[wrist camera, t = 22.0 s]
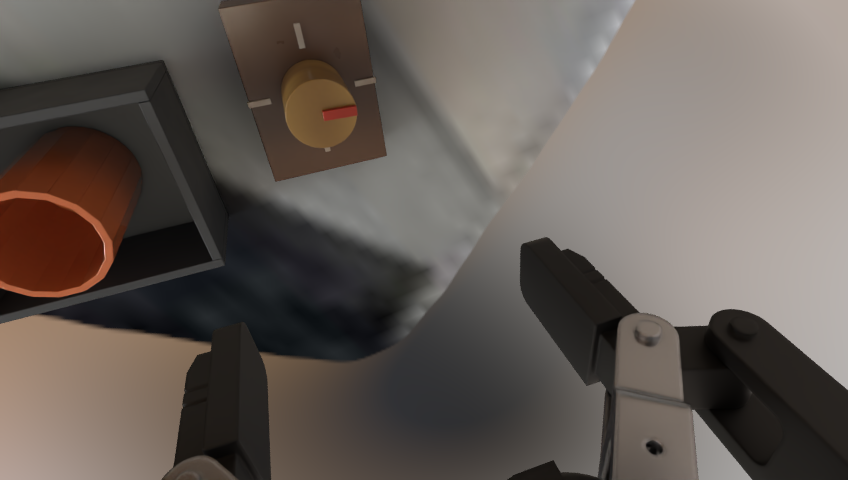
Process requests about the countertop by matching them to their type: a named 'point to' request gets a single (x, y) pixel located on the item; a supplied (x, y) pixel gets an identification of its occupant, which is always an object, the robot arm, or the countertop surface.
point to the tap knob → (317, 104)
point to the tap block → (294, 42)
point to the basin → (160, 164)
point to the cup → (65, 211)
